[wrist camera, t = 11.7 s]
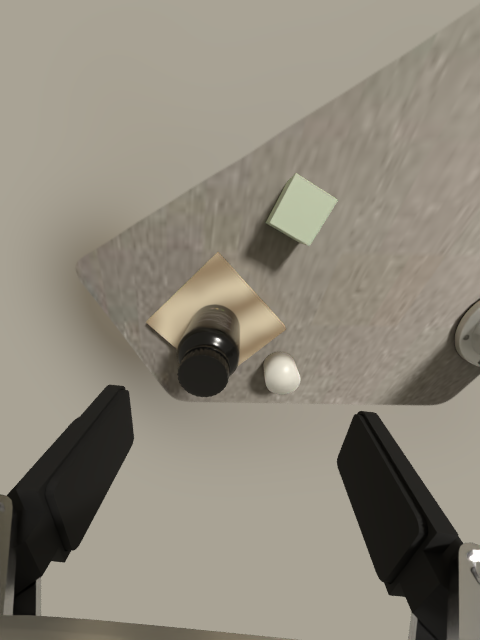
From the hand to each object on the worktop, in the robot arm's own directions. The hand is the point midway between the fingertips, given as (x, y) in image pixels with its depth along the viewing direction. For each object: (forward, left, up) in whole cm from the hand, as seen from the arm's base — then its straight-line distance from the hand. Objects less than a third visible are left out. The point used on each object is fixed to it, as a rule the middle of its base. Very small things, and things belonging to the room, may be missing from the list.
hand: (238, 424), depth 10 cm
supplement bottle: (-2, +6, -23) cm, 23 cm away
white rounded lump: (-14, +4, -24) cm, 28 cm away
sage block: (+2, -11, -24) cm, 26 cm away
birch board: (-2, +6, -24) cm, 25 cm away
